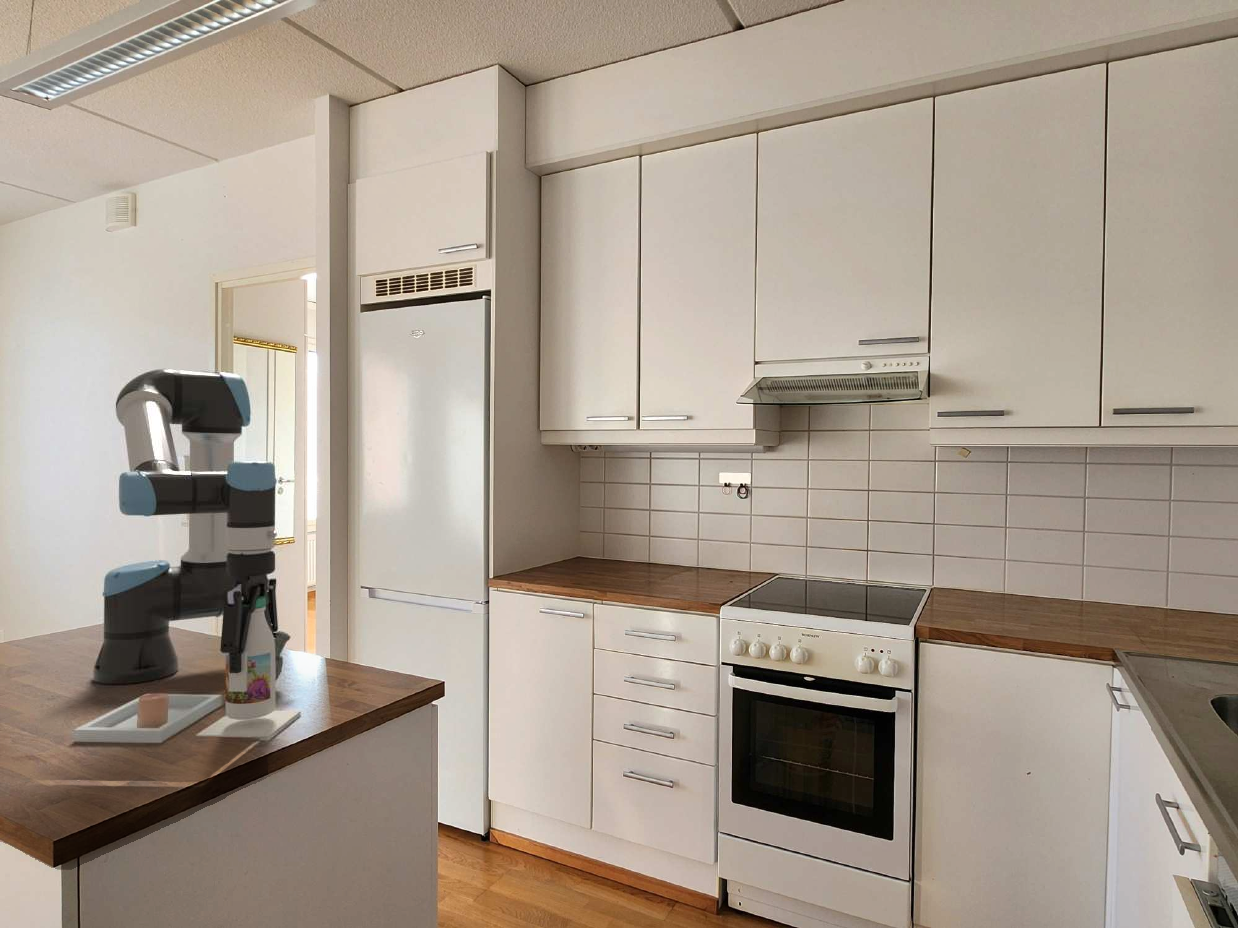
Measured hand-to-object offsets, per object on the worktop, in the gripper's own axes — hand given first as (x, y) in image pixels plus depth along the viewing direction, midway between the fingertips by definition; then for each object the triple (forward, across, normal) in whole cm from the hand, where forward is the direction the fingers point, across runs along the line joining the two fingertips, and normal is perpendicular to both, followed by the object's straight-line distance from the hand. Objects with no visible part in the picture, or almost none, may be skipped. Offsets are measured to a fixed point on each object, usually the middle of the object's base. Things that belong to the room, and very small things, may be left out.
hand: (250, 682), depth 129 cm
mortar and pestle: (+8, +17, +7) cm, 20 cm away
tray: (+8, 0, +17) cm, 19 cm away
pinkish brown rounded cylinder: (+7, -3, +15) cm, 17 cm away
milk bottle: (+5, 0, 0) cm, 5 cm away
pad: (+8, 0, 0) cm, 8 cm away
